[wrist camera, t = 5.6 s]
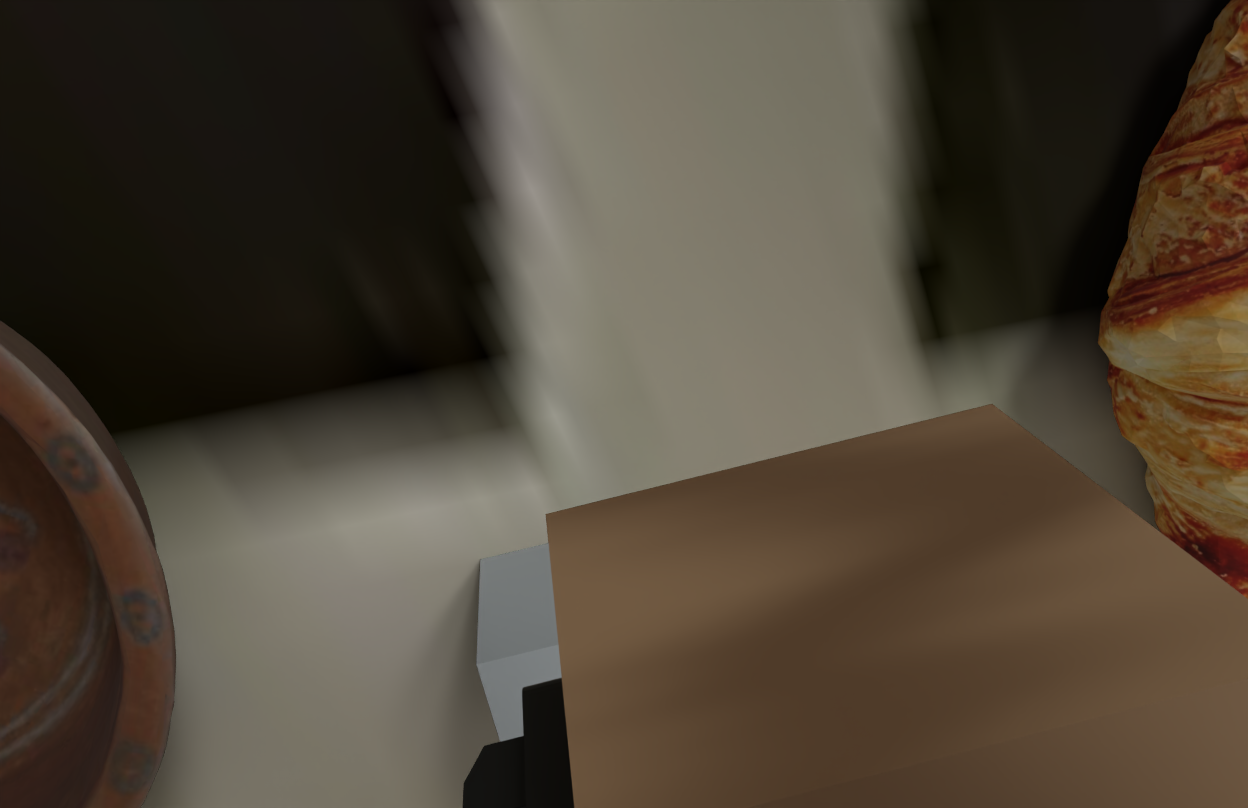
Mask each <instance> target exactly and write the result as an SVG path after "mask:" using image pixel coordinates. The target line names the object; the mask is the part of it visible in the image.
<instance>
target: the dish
mask: <svg viewBox="0 0 1248 808" xmlns="http://www.w3.org/2000/svg"><path fill="white" fill-rule="evenodd" d="M175 673H176V649H175V635H174V626H173V620H172V613H171V607H170V601H169V595H168V590H167V586H166V581H165V577H164V573H163V569H162V566H161V563H160V560H159V557H158V554H157V552H156V546H155V539H154V534H153V530H152V526H151V523H150V519H149V515H148V512H147V508H146V505H145V503H144V500H143V498H142V495H141V493H140V490H139V488H138V485H137V483H136V481H135V479H134V477H133V475H132V472H131V470H130V468H129V467H128V465H127V463H126V461H125V459H124V458H123V456H122V454H121V452H120V451H119V449H118V447H117V445H116V443H115V442H114V440H113V438H112V437H111V435H110V434H109V432H108V430H107V429H106V427H105V426H104V424H103V423H102V421H101V420H100V418H99V417H98V416H97V414H96V413H95V411H94V410H93V409H92V407H91V406H90V404H89V403H88V402H87V401H86V399H85V398H84V397H83V396H82V394H81V393H80V392H79V391H78V390H77V388H76V387H75V386H74V385H73V383H72V382H71V381H70V380H69V378H68V377H67V376H66V375H65V374H64V373H63V372H62V371H61V370H60V369H59V368H58V367H57V366H56V365H55V364H54V363H53V362H52V361H51V360H50V359H49V358H48V357H47V356H46V355H45V354H43V353H42V352H41V351H40V350H39V349H37V348H36V347H35V346H34V345H33V344H32V343H30V342H29V341H28V340H26V339H25V338H24V337H22V336H21V335H20V334H18V333H17V332H16V331H14V330H13V329H12V328H10V327H9V326H7V325H6V324H4V323H3V322H2V321H0V808H141V806H142V804H143V803H144V801H145V798H146V796H147V794H148V792H149V790H150V788H151V785H152V783H153V781H154V779H155V776H156V774H157V772H158V769H159V767H160V764H161V761H162V758H163V755H164V752H165V748H166V743H167V739H168V734H169V728H170V718H171V714H172V710H173V706H174V693H175Z"/></svg>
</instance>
